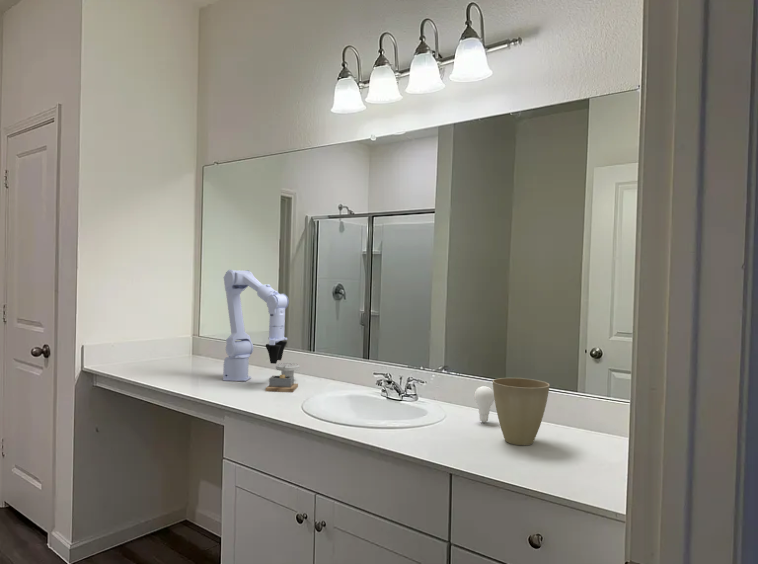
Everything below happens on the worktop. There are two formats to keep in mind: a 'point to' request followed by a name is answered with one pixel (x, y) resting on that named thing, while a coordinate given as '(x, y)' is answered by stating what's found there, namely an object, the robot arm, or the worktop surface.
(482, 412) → the lightbulb
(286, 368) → the showerhead
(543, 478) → the worktop surface
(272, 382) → the grey rectangular block
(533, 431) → the plant pot
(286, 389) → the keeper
